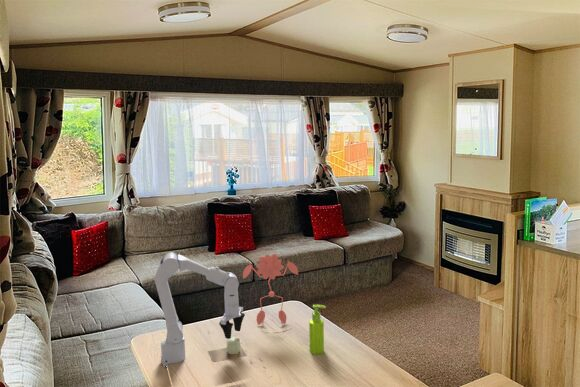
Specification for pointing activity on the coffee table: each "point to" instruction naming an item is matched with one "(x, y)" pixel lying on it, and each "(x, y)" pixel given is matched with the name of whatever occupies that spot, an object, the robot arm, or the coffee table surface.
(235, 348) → the cap
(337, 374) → the coffee table surface
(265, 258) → the figurine
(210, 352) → the post base
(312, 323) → the soap dispenser
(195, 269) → the robot arm
